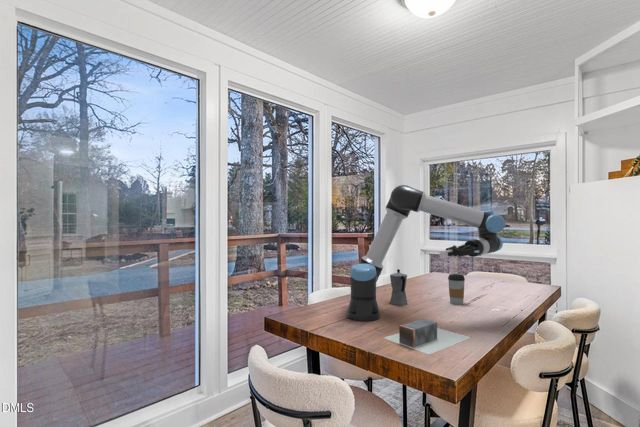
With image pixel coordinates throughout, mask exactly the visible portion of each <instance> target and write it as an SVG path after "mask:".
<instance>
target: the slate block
mask: <svg viewBox="0 0 640 427" xmlns="http://www.w3.org/2000/svg"><path fill="white" fill-rule="evenodd" d="M398 327H399V328H398V329H399V332H398V333H399V343H402V344H405V345H407V346H410V347H413V348H414V347H416V346H419V345H422V344H424V343H427V342H430V341H433V340H435V339H437V328H438V322H437V321H433V320H429V319H427V318H426V319H425V318H421V319H417V320H414V321H411V322H407V323H404V324H400V325H399V326H398ZM407 346H406V347H407Z"/></svg>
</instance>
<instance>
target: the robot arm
mask: <svg viewBox="0 0 640 427" xmlns="http://www.w3.org/2000/svg"><path fill="white" fill-rule="evenodd" d="M385 211H386V213H385V215H384V217H383V219H382V222H381V223H380V225H379V228H378V230H377V232H376V234H375V235H374V238H373V240H372V242H371V244H370V247H369V249H368V251H367V253H366V255H363V256H362V257H361V258H360V260H359V262H358V263H357V264H353V265H352V266H351V268H350V272H349V274H350V299H349V300H350V301H349V304H348V307H347V311H346V317H347V318H349V319H350V320H354V321H358V322H359V321H360V322H363V321H364V322H371V321H375V320H379V319H380V318H381V311H380V308H379V305H378V302H377V301H378V300H377V282H378V280H379V278H380V275H381V273H382V271H383V268H384V265H383V262H384V259H385V258H386V256H387V253H388V252H389V249H390V247H391V245H392V243H393V241H394V238H395V237H396V235H397V233H398V231H399V229H400V226H401V224H402V222H403V221H404V220H405V219H407V218H408V217H409V215H410V213H411V212H415V213H419V212H422V213H426V214H429V215H433V216H436V217H439V218H440V217H441V218H443V219H447V220H450V221H454V222H457V223H459V224H463V225H467V226H470V227H473V228H477V232H478V238H474V239H468V240H467V241H465V243H464V244H461V245H458V246H457V245H455V244H453V245H452V246H449V247H447V248H445V250H442V251H439V259H447V258H451V257H466V256H467V257H471V258H476V257H481V256H482V255H487V254H491V253H495V252H497V251H498V252H499V251H500V250H501V249H502V248H503V245H504V241H503V240H502V238H501V237H500V236H499V235H498V234H497V233H500V232H502V231H503V230H504V229H505V227H506V220H505V218H504V217H503V216H502V215H499V214H497V213H495V214H494V211H493V210H485V211H484V210H480V209H476V208H473V207H470V206H466V205H463V204H459V203H456V202H453V201H449V200H445V199H441V198H438V197H434V196H431V195H427V194H426V192H425V191H422V190H419V189H417V188H414V187H411V186H410V185H405V184H400V185H397V186H395V188H393V190H391V193H390V197H389V199H388V202H387V204H386V206H385Z"/></svg>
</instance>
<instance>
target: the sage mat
mask: <svg viewBox="0 0 640 427" xmlns="http://www.w3.org/2000/svg"><path fill="white" fill-rule="evenodd" d="M471 338H472V336H471V337H470V336H467V335H463V334H460V333H456V332H453V331H450V330H447V329H442V328H439V327H437V339H435V340H433V341H430V342H427V343H424V344H422V345H419V346H416V347H414V348H413V347H410V346H407V345H405V344H402V343H399V332H397V333H394V334H391V335H388V336H387V335H386V336H385V337H383V339H384V340H388V341H390V342H393V343H396V344H399V345H401V346H404V347H407V348H410V349H412V350H415V351H418V352H421V353H423V354H427V355H432V354H434V353H436V352H440V351H442V350H445V349H446V348H449V347H452V346H454V345H457V344H459V343H461V342H465V341H467V340H468V339H471Z"/></svg>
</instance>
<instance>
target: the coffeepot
mask: <svg viewBox="0 0 640 427" xmlns="http://www.w3.org/2000/svg"><path fill="white" fill-rule="evenodd" d="M400 271H401V269H397V270H396V272H395V273H391V274H389V277H390V278H389V279H390V284H391V288H392V290H391V296H390V304H391V305H393V306H406V305H408V300H407V298H408V297H407V293H406V285H407V279H408V274H405V273H402V272H400Z"/></svg>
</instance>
